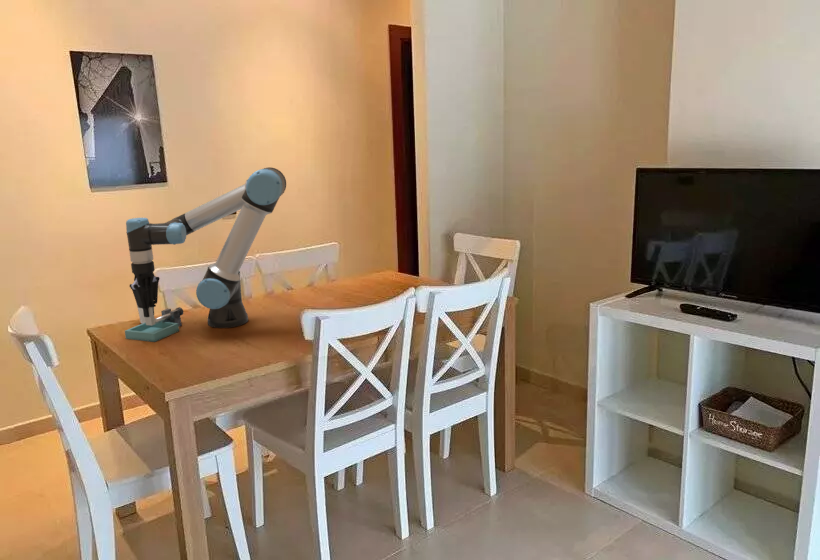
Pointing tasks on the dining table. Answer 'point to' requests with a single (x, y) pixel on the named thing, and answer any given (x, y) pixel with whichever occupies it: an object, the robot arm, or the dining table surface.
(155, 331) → the teal square tray
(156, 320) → the lock pin
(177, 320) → the pin mount
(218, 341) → the dining table surface
